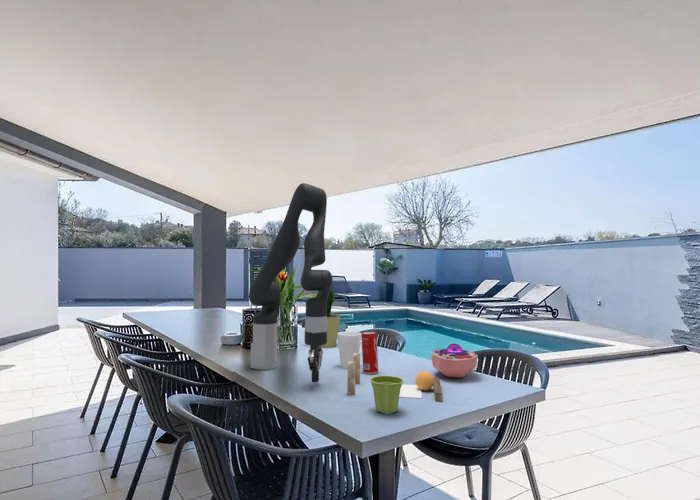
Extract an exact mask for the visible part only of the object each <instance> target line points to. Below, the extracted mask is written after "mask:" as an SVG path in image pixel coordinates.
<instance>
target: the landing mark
mask: <svg viewBox="0 0 700 500" xmlns="http://www.w3.org/2000/svg"><path fill="white" fill-rule="evenodd" d="M422 391H423V390H421V389H420V388H418V386H417V385H416V384H403V383H402V386H401V389H400V395H399V398H408V399H422V398H423V396H422V395H423V393H422Z"/></svg>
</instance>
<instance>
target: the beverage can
mask: <svg viewBox="0 0 700 500" xmlns="http://www.w3.org/2000/svg"><path fill="white" fill-rule="evenodd" d="M377 337H378V336H377V332H376V331H364V332H362V333H361V355H362V356H361V357H362V358H361V359H362V372H363V374H367V375H370V374H371V375H372V374H377V373H378V372H379V357H378V356H379V355H378V338H377Z"/></svg>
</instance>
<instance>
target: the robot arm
mask: <svg viewBox="0 0 700 500" xmlns="http://www.w3.org/2000/svg"><path fill="white" fill-rule="evenodd" d="M327 196H328V195H327V193H326V191H325V190H324V189H322V188H320V187H318V186H315V185H312V184H309V183H304V182H302V183H299V184H298V185H297V187H296V188H295V190H294V193H293V195H292V198H291V199H290V203H289V206H288V209H287V211H286V214H285V217H284V219H283V222H282V224H281V227H280V228H279V230H278V232H277V234H276V237H275V239H274V241H273V242H272V243H273V244H272V245H271V247H270V250H269V253H268V254H267V257H266V258H265V259H264V263H263V265H262V267H261V269H260V271H259V272H258V274H257V276H256V277H255V279H254V280H253V282H252V283H251V286H250V288H249V291H248V299H249V302H250V304H251V305H253V306H255V307H256V306H257V307H259V306H260V307H261V309H260V310H259V311H258V312H257V313H255V314H254V315H253V317H252V318H253V319H252V320H253V321H252V342H251V343H250V369H253V370H266V371H267V370H274V369H276V368H277V363H278V360H277V356H278V353H277V352H278V349H277V348H278V317H280V316H279V315H280V310H281V309H280V306H281V290H280V287H279V286H280V285H279V284H278V283H277V282H275V279H276V278H277V276H278V275H279V274H280V273H281V272H283V270H284V269H286V268H287V267H288V266H289V265H290V264H291V263H292V261H293V260H294V258H295V257H296V254H297V252H298V250H299V247H300V244H301V239H300V238H301V235H300V232H299V220H300V217H301V214H302V212H303V211H306V212H311V214H312V215H313V219H312V220H313V221H312V224H311V225H310V228H309V230H308V232H307V233H306V235H305V237H304V241H303V248H304V249H303V250H304V252H303V253H304V262H303V263H304V264H303V270H302V273H301V277H300V286H301V287H302V289H303V290H304V291H305V292H307V291H308V292H314V291H315V292H318V291H321V293H320V294H319V296H315V297H311V298H307V299H306V301H305V320H304V344H305V345H307V346H310V347H309V350H308V357H307V362H308V367H309V368H308V369H309V371H311V382H312V383H319V381H320V369H321V366H322V359H323V353H324V351H323V348H321V345H325V344H326V343H327V300H328V296H329V292H330V289H331V288H332V286H333V275H332V273H331V271H330V270H328V269H312V268H315V267H318V266H321V265H323V264H324V263H326V248H325V227H326V217H327V205H328V204H327V203H328V202H327V201H328V198H327Z"/></svg>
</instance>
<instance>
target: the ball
mask: <svg viewBox="0 0 700 500" xmlns="http://www.w3.org/2000/svg"><path fill="white" fill-rule="evenodd" d="M434 378H435V377H434V376H433V374H432V373H430V372H429V371H425V370H424V371H420V372H419V373H417V374H416V376H415V385H417V386H418V388H420V389H421V390H422V391H429V390H431V388H433V384H434Z"/></svg>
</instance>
